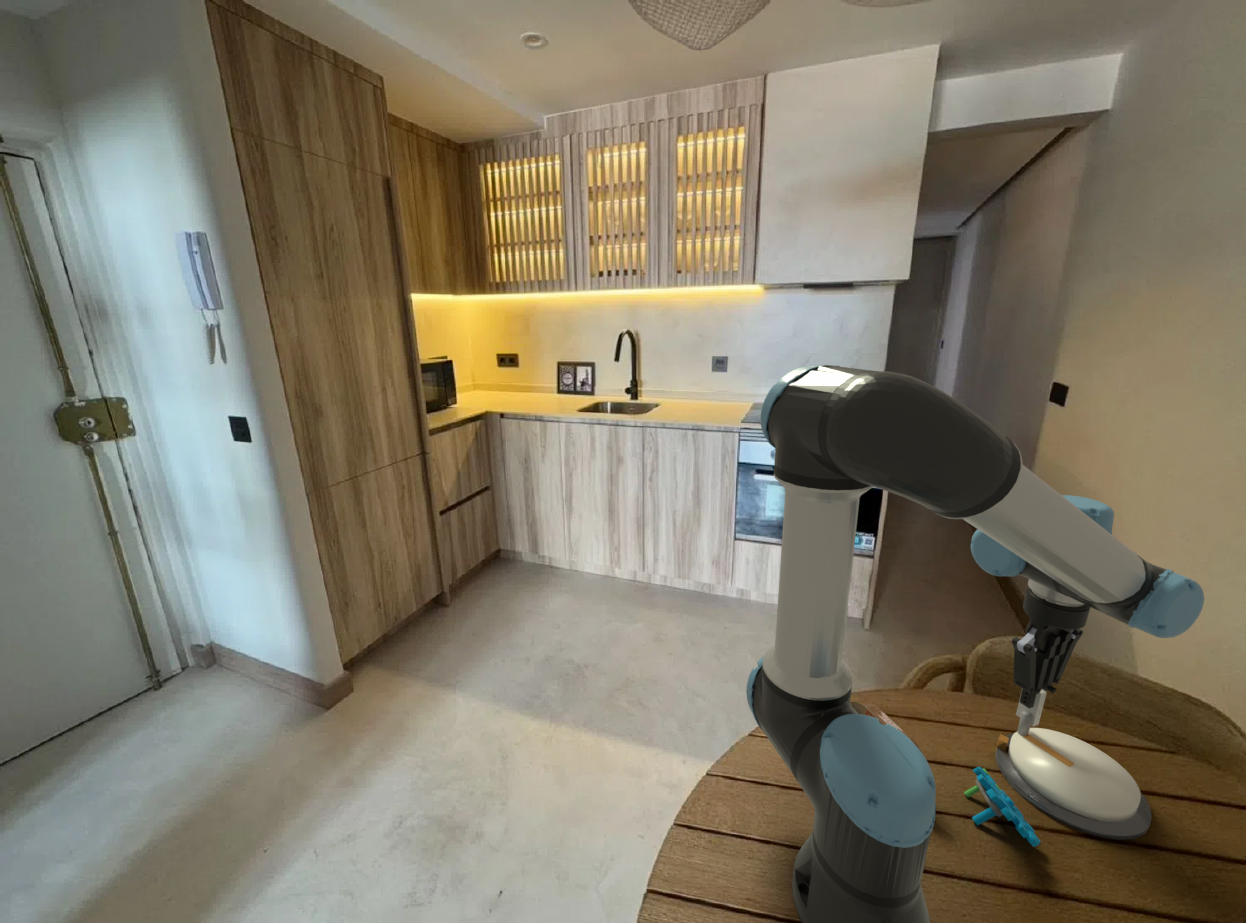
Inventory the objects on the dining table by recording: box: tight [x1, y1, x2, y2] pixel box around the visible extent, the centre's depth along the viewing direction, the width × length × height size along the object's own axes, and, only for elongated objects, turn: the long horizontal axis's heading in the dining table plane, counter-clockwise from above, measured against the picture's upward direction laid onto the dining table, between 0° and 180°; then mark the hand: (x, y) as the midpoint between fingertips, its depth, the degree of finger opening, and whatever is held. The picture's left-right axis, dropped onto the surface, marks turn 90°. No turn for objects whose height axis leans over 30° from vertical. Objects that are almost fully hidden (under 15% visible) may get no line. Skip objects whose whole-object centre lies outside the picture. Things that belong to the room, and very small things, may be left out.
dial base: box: [995, 732, 1153, 841], centre depth 77 cm, size 18×18×2 cm
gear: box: [964, 766, 1041, 848], centre depth 71 cm, size 11×6×10 cm
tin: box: [850, 700, 922, 752], centre depth 80 cm, size 15×3×8 cm, turn 15°
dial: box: [1008, 711, 1141, 822], centre depth 76 cm, size 15×15×6 cm
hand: (1027, 719), depth 83 cm, fingers closed
